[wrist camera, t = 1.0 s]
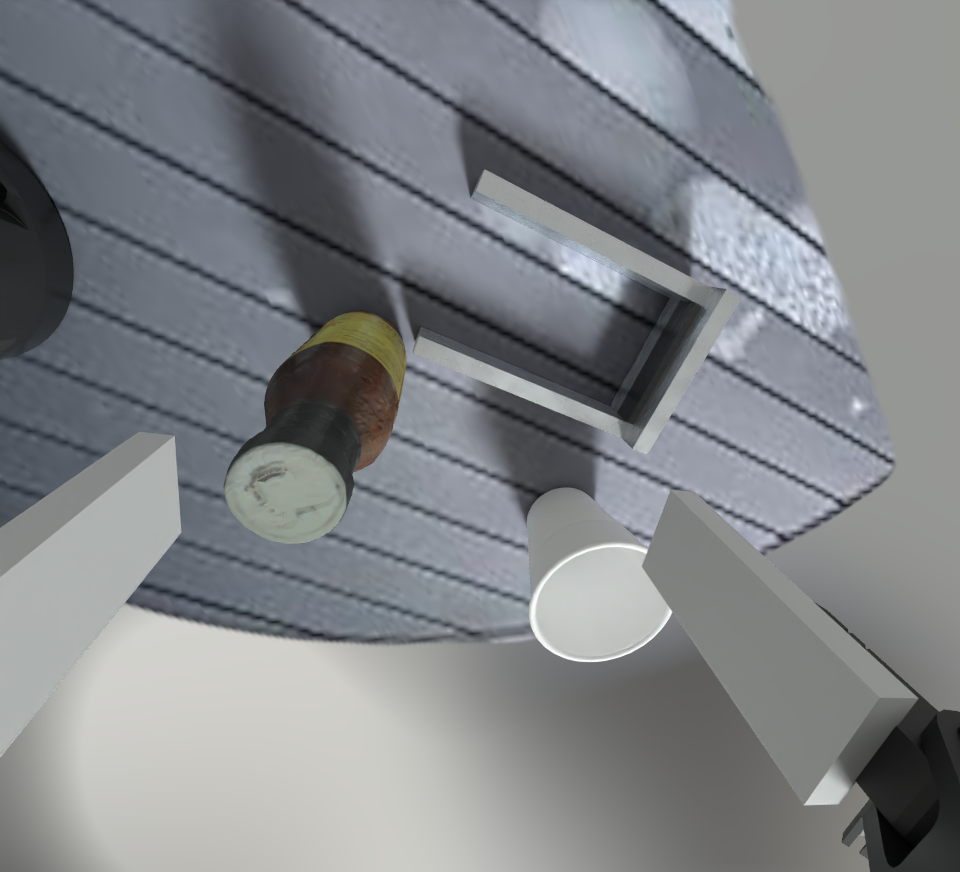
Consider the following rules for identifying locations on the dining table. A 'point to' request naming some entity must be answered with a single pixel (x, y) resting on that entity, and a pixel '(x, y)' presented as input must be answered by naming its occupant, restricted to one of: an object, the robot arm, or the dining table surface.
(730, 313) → the frame
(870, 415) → the dining table surface
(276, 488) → the sauce bottle
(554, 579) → the cup
